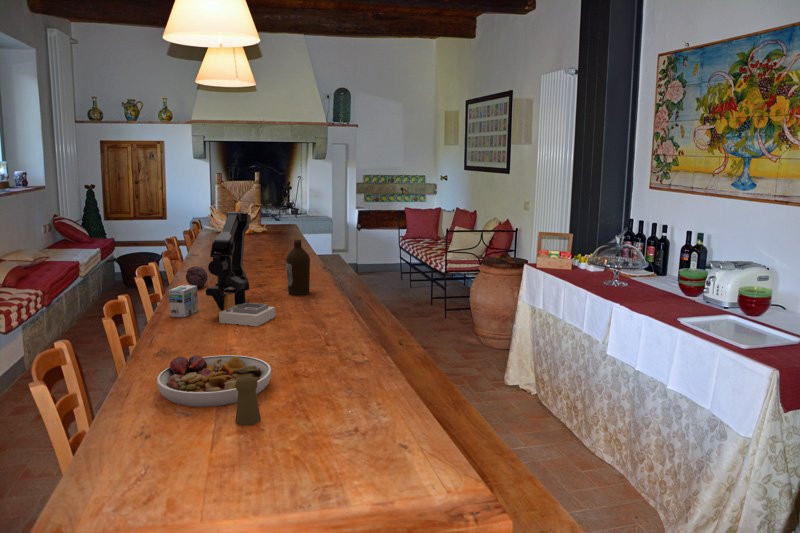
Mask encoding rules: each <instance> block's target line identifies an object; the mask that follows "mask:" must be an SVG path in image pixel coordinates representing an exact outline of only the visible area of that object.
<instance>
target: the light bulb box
mask: <svg viewBox="0 0 800 533" xmlns="http://www.w3.org/2000/svg"><path fill="white" fill-rule="evenodd" d="M168 298H169V316H170V317H173V318H174V317H175V318H187V317H189V316H191V314H192V315H194V314H196V313H198V312H199V301H198V299H199V298H198V286H194V285H192V284H189V285H188V284H182V285H178V286H177V287H174V288H173V287H172V288H171V289H168ZM195 312H196V313H195ZM193 313H194V314H193Z"/></svg>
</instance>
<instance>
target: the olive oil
mask: <svg viewBox="0 0 800 533" xmlns="http://www.w3.org/2000/svg"><path fill="white" fill-rule="evenodd" d="M285 260H286V261H285V263H286V265H285V266H286V276H287V277H286V278H287V290H288V295H290V296H292V297H293V296H295V297H302V296H307V295H309V294H310V282H311V281H310V280H311V279H310V277H311V276H310V275H311V274H310V273H311V271H310V270H311V258H310V255H309V254H308V252H307V251H306V250H305V249H304V248H303V247H302V239H301V238H294V239H293V248H292V249H291V250H290V251H289V252H288V254H287V255H286V259H285Z"/></svg>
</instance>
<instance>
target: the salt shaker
mask: <svg viewBox="0 0 800 533" xmlns="http://www.w3.org/2000/svg"><path fill="white" fill-rule="evenodd" d="M257 385H258V382H257V379H256V378H255V377H253V376H242V377H239V378H238V379H237V380H236V384H235V386H236V389H237V391H238V399H237V402H236V411H235V421H234V422H235V424H236V425H238V426H245V427H246V426H253V425H256V424H258V423H260V422H261V420H262V419H261V412H260V408H259V401H258V396H257V395H258V394H256V388H257Z"/></svg>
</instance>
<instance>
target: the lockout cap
mask: <svg viewBox="0 0 800 533" xmlns="http://www.w3.org/2000/svg"><path fill="white" fill-rule="evenodd" d="M224 294H227V295H226V296H225V298H224V310H226V309H229V308H231V307H233V306H235V294H234V293H224ZM224 310H223V311H224ZM216 312H217V316H219V312H222V311H221V310H220V309H219V307H218V305H217V304H216Z"/></svg>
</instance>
